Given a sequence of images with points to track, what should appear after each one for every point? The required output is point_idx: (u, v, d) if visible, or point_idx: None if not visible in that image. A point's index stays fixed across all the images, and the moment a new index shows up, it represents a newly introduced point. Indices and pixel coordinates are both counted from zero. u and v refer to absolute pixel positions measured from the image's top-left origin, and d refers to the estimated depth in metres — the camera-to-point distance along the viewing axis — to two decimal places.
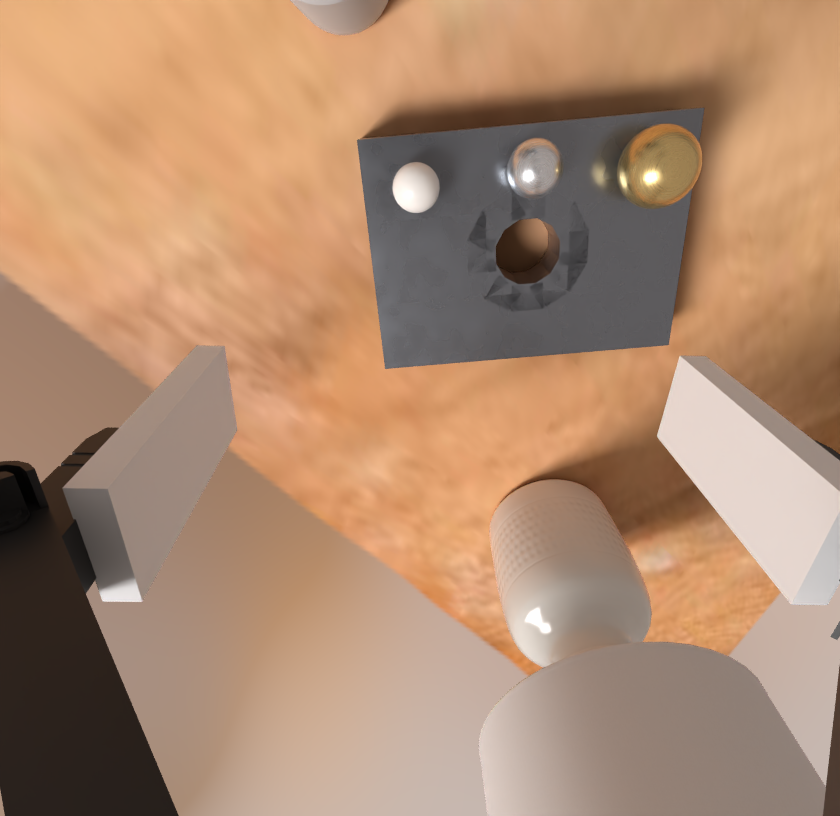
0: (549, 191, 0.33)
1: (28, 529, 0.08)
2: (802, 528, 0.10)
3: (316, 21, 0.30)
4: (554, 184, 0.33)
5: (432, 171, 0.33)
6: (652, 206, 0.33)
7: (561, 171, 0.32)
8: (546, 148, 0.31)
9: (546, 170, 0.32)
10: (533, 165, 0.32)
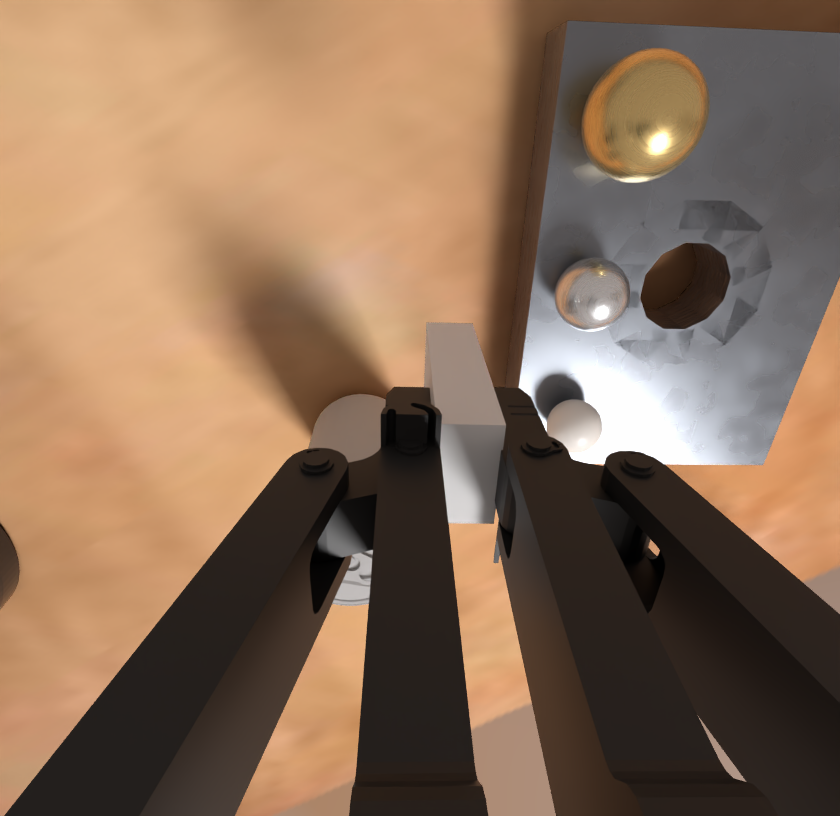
0: (627, 284, 0.25)
1: (423, 459, 0.10)
2: None
3: None
4: (622, 280, 0.24)
5: (563, 412, 0.28)
6: (701, 135, 0.21)
7: (608, 270, 0.24)
8: (577, 294, 0.24)
9: (604, 298, 0.24)
10: (594, 314, 0.24)
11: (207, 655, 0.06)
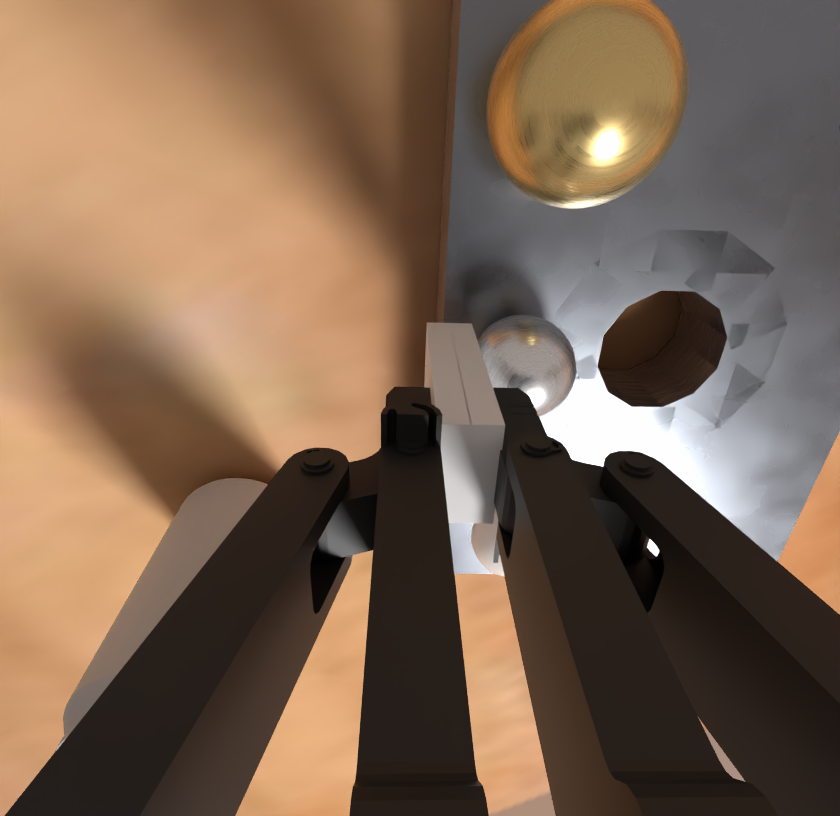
0: (571, 358, 0.16)
1: (423, 459, 0.10)
2: None
3: None
4: (561, 353, 0.16)
5: None
6: (676, 133, 0.13)
7: (539, 338, 0.16)
8: (493, 373, 0.16)
9: (533, 381, 0.16)
10: None
11: (207, 655, 0.06)
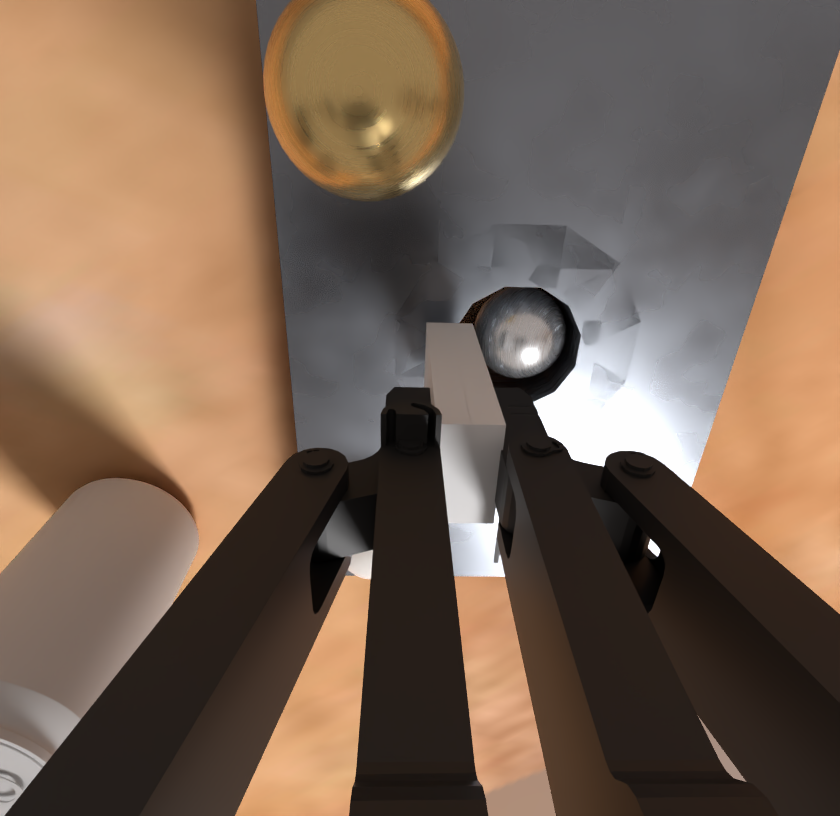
0: (483, 315, 0.20)
1: (423, 459, 0.10)
2: None
3: None
4: (485, 304, 0.20)
5: None
6: (453, 123, 0.12)
7: (500, 291, 0.20)
8: None
9: None
10: None
11: (207, 655, 0.06)
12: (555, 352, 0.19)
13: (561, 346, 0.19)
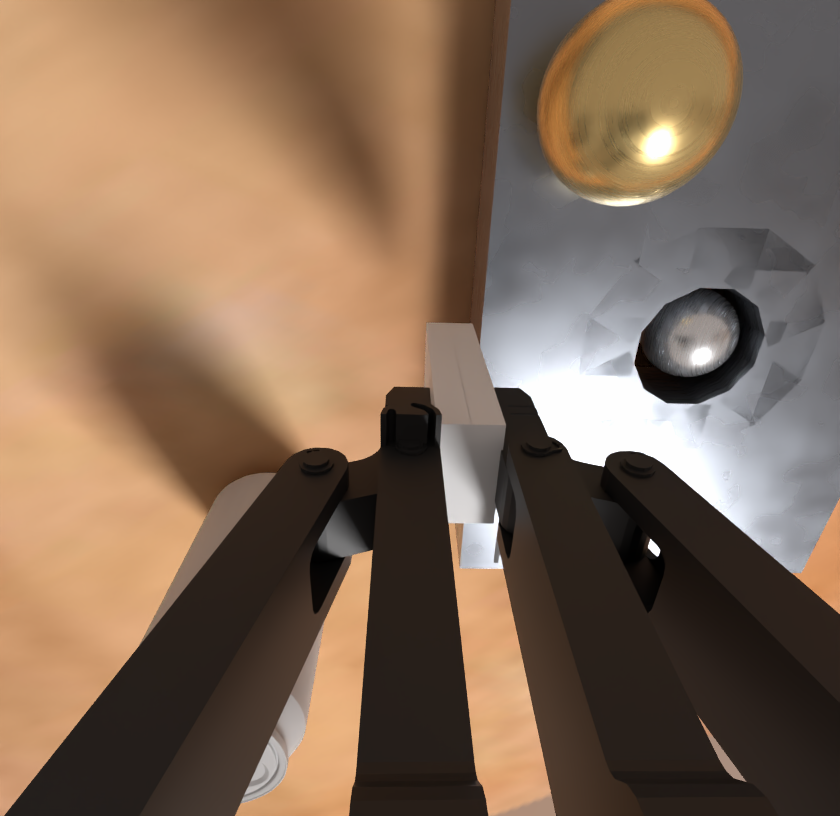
0: (657, 314, 0.20)
1: (423, 459, 0.10)
2: None
3: None
4: None
5: None
6: (728, 132, 0.13)
7: None
8: None
9: None
10: None
11: (207, 655, 0.06)
12: (730, 352, 0.20)
13: (735, 346, 0.20)
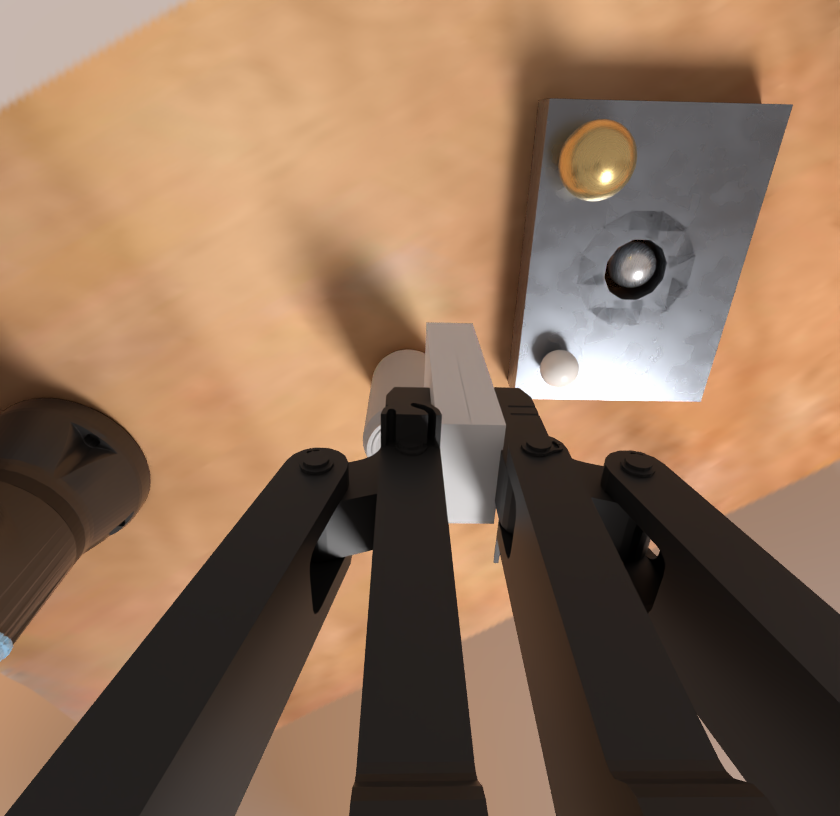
0: (615, 255, 0.41)
1: (423, 459, 0.10)
2: None
3: None
4: (616, 250, 0.41)
5: (551, 358, 0.41)
6: (633, 172, 0.33)
7: None
8: None
9: None
10: None
11: (207, 655, 0.06)
12: (651, 272, 0.40)
13: (653, 270, 0.40)
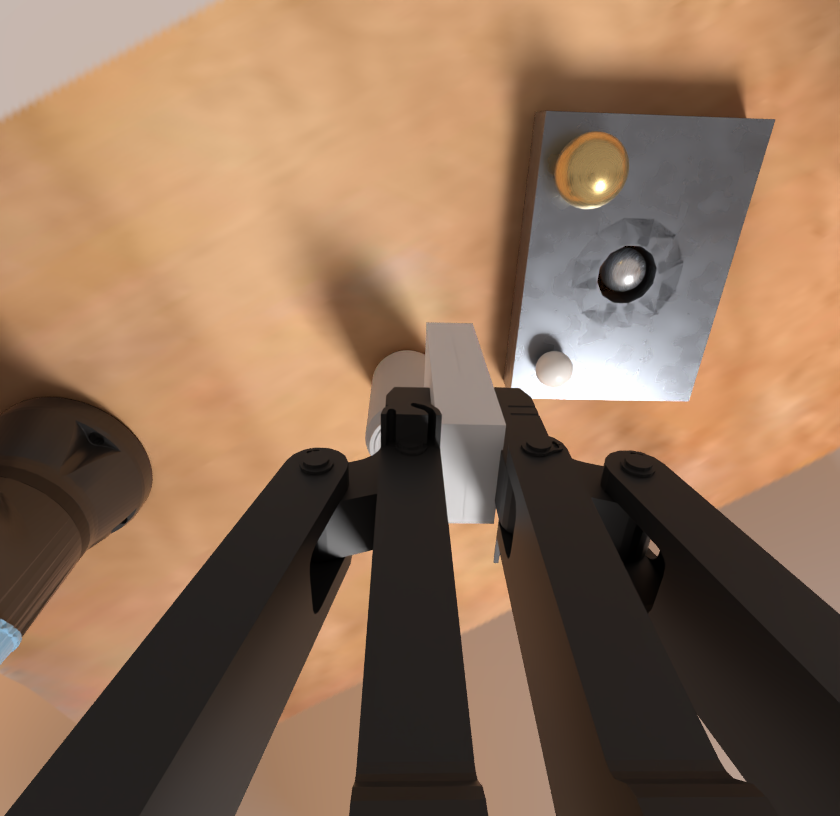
0: (606, 260, 0.42)
1: (423, 459, 0.10)
2: None
3: None
4: None
5: (546, 358, 0.43)
6: (625, 182, 0.35)
7: None
8: None
9: None
10: None
11: (207, 655, 0.06)
12: (640, 277, 0.42)
13: (643, 275, 0.42)
